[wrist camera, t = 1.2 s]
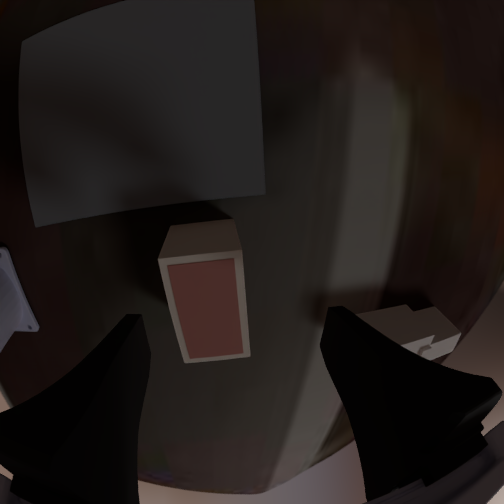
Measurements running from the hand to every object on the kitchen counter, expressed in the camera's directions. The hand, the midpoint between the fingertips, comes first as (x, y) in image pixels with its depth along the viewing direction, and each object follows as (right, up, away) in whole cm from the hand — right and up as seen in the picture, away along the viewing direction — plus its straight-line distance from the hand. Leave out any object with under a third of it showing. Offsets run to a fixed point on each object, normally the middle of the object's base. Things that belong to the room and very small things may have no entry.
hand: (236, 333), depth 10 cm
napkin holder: (+14, -4, +14) cm, 21 cm away
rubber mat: (-7, +12, +3) cm, 14 cm away
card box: (-2, +2, +9) cm, 9 cm away
